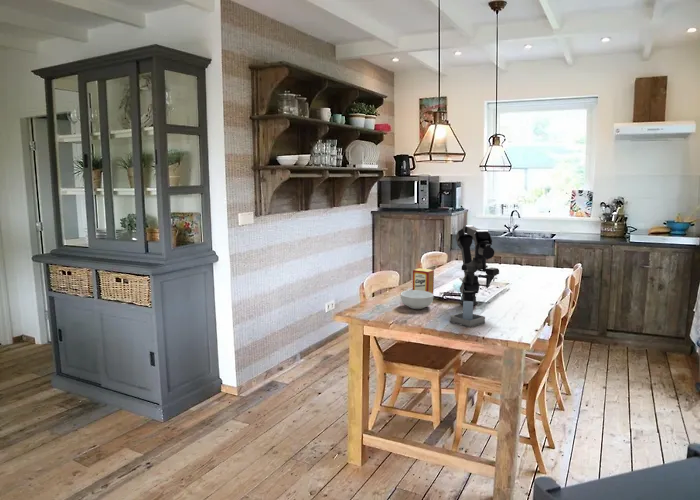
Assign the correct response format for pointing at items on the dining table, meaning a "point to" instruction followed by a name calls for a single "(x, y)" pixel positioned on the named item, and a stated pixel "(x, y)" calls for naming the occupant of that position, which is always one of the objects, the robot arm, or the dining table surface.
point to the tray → (459, 320)
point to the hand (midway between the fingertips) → (479, 286)
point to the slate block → (468, 310)
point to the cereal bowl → (417, 298)
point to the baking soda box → (423, 280)
